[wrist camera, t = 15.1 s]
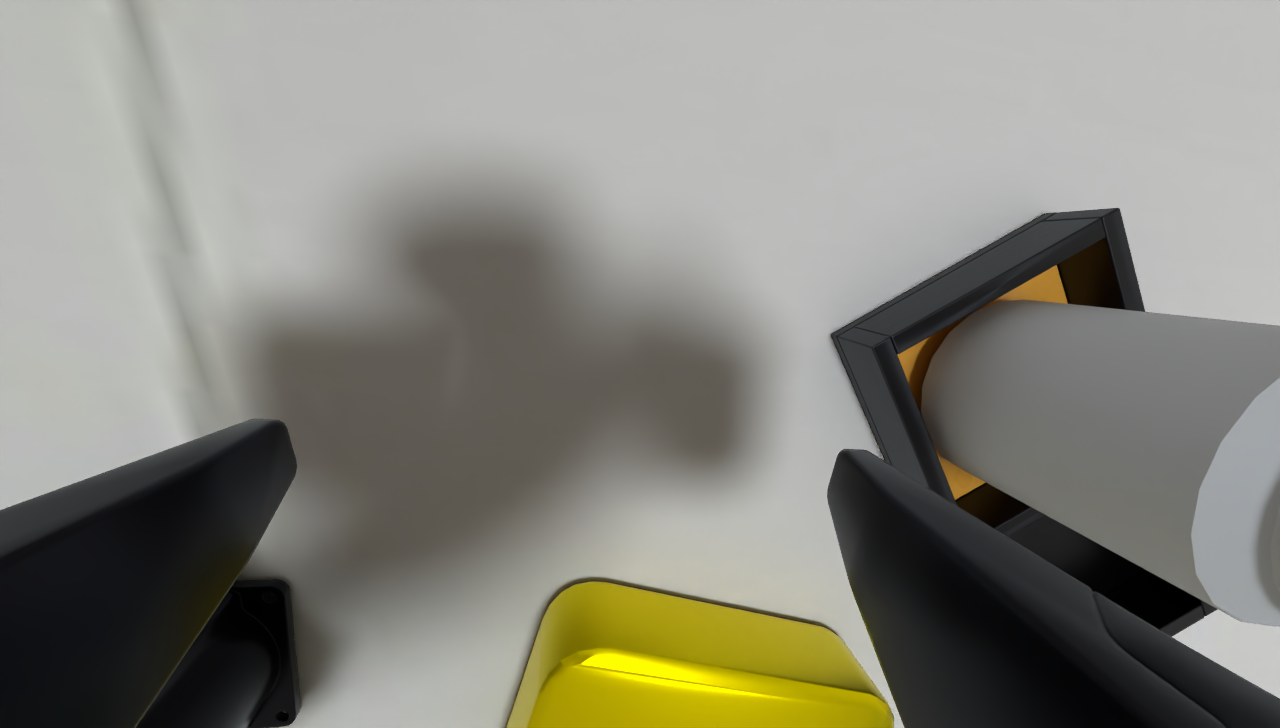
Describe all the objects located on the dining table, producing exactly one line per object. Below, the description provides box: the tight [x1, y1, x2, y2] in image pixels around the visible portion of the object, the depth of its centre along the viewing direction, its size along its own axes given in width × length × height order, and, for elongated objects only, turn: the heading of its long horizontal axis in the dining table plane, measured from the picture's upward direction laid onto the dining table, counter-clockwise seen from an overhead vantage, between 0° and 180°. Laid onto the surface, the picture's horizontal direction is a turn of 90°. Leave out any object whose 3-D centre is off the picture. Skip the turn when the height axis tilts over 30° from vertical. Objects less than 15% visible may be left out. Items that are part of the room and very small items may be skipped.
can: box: [921, 299, 1280, 626], centre depth 17 cm, size 8×8×12 cm
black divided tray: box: [831, 208, 1217, 637], centre depth 23 cm, size 11×20×3 cm, turn 28°
